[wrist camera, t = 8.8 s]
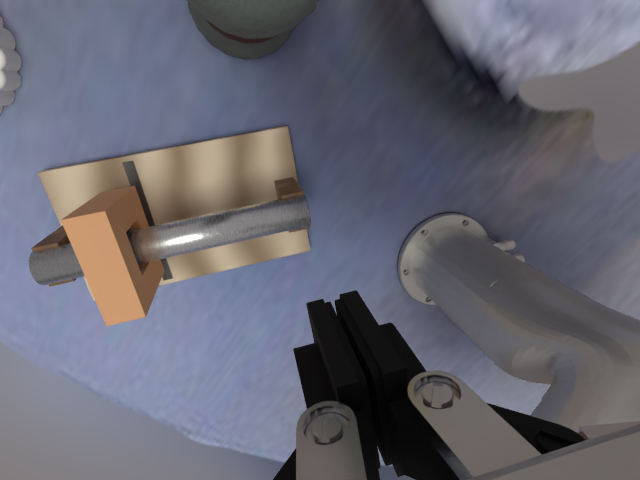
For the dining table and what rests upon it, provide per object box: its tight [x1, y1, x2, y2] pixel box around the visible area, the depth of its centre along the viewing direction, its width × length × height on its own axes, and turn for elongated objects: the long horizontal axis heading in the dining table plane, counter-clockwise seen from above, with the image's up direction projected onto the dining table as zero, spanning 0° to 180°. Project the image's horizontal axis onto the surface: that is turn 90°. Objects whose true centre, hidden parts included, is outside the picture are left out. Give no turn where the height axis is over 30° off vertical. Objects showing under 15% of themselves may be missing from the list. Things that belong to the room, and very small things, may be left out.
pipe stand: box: [31, 126, 311, 301], centre depth 38 cm, size 24×14×8 cm, turn 99°
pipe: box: [29, 195, 311, 285], centre depth 34 cm, size 23×3×3 cm, turn 99°
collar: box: [61, 186, 164, 326], centre depth 33 cm, size 3×9×9 cm, turn 9°
